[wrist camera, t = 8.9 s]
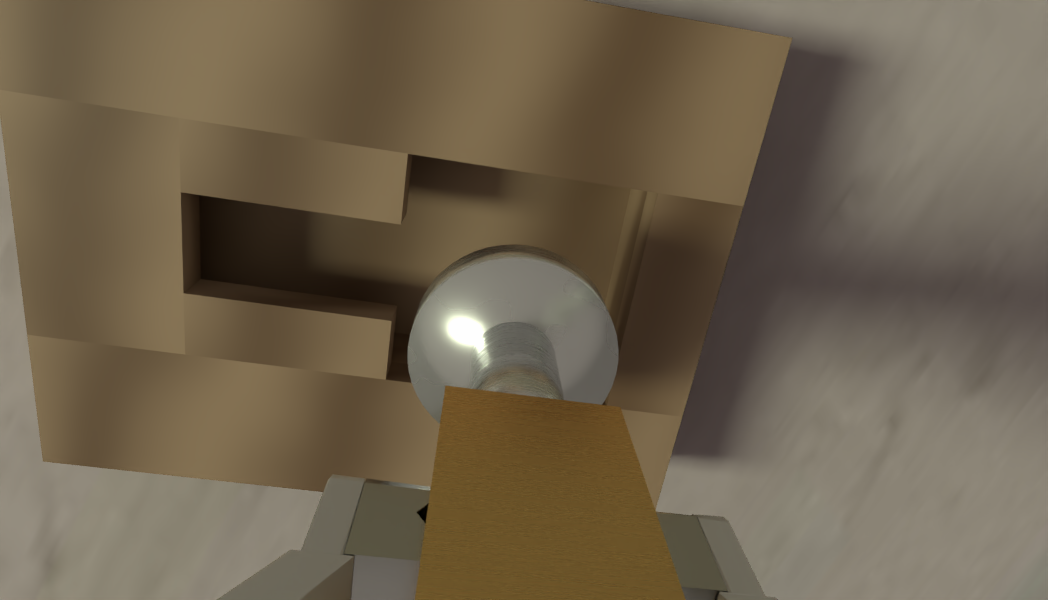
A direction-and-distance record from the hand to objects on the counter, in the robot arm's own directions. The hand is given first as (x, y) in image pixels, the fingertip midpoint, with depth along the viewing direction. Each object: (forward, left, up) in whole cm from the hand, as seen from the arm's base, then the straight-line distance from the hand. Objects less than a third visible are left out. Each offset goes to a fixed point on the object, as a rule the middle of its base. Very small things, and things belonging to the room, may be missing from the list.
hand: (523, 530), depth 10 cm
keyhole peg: (0, 0, -7) cm, 7 cm away
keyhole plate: (+4, 0, -15) cm, 15 cm away
